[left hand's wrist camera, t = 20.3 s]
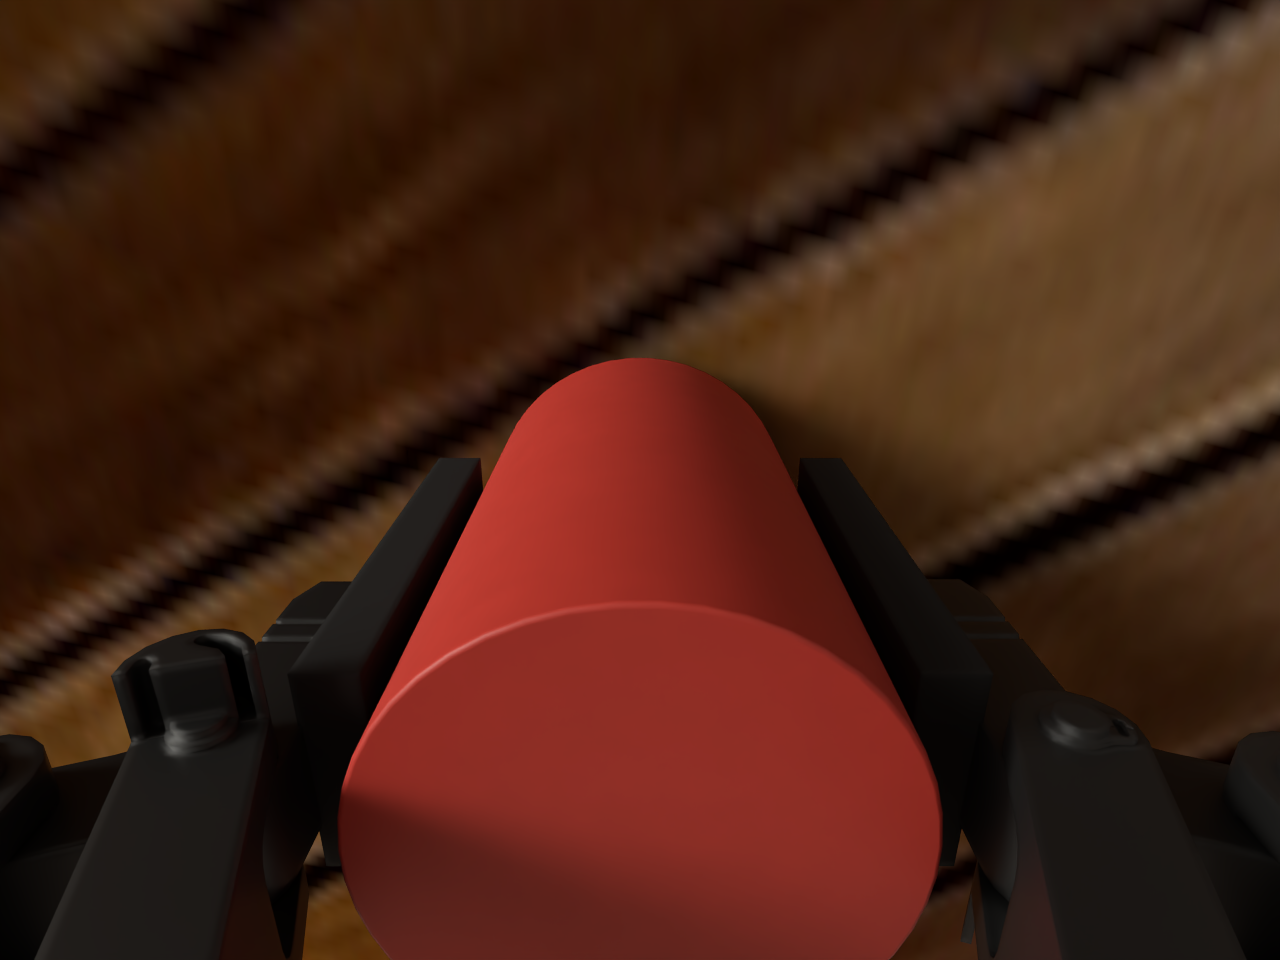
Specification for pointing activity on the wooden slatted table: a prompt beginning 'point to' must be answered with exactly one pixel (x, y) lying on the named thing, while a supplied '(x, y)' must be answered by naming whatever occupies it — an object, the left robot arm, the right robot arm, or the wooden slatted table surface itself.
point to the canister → (640, 710)
